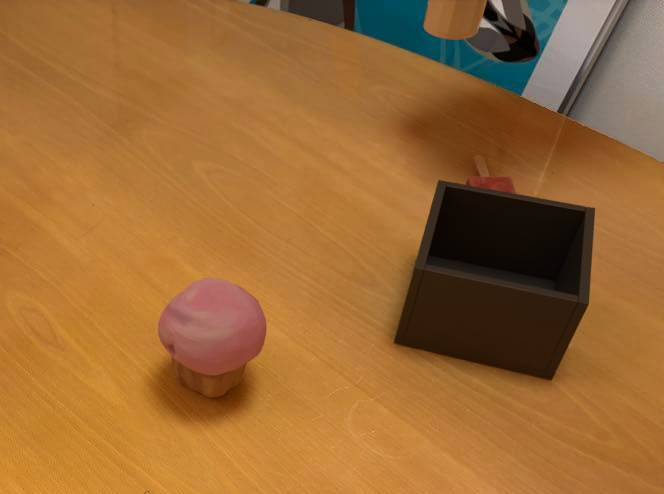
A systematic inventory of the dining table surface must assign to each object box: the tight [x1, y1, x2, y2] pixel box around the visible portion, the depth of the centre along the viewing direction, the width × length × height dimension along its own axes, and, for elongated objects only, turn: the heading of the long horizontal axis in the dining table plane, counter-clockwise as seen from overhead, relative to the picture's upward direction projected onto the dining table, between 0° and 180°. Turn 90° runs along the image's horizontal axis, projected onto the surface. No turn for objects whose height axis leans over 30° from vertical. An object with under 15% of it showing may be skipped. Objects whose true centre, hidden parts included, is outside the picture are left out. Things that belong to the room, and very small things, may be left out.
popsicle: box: [465, 155, 517, 194], centre depth 92 cm, size 4×2×15 cm
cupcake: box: [157, 277, 267, 399], centre depth 73 cm, size 9×9×10 cm
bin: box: [393, 179, 596, 381], centre depth 78 cm, size 14×14×9 cm
